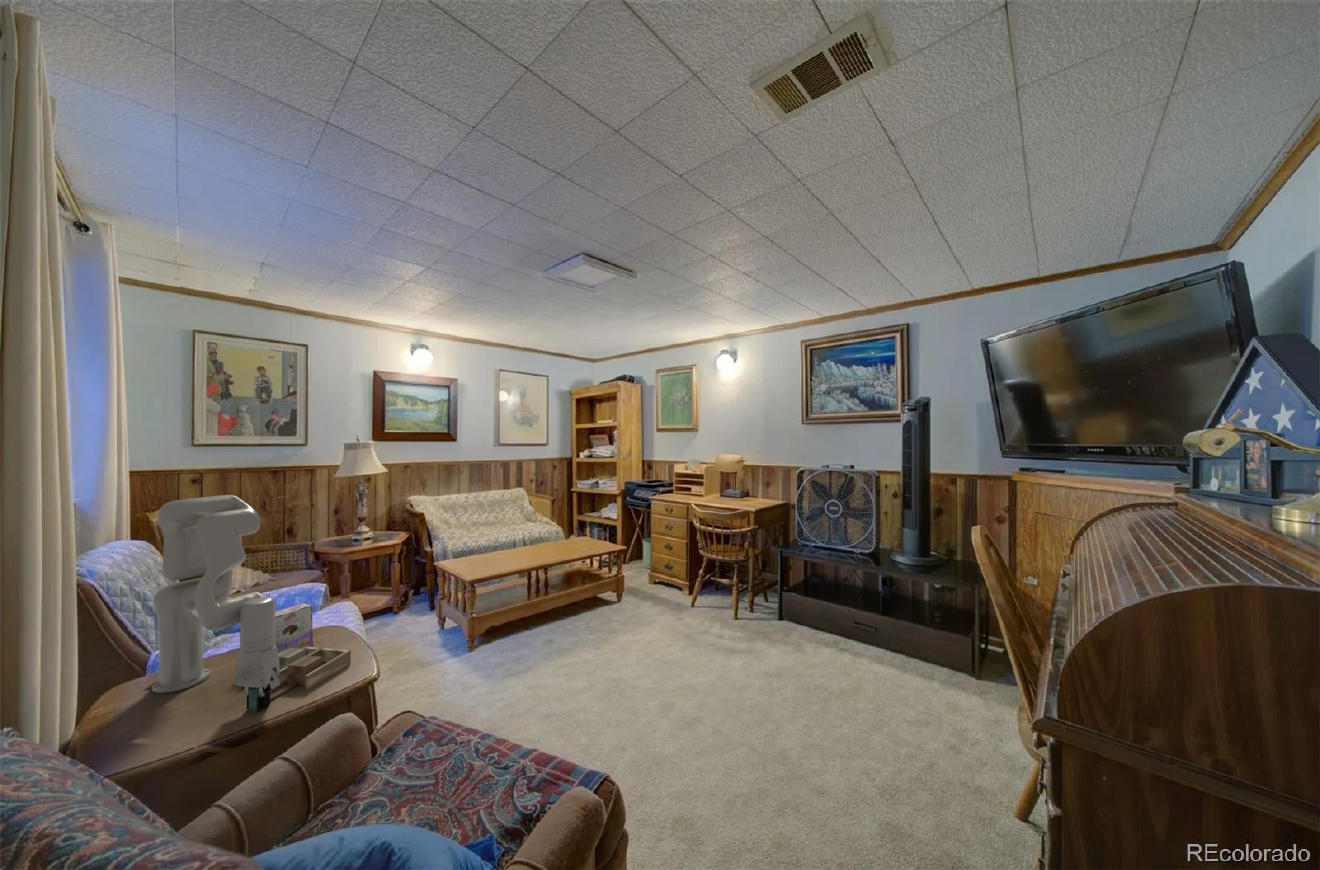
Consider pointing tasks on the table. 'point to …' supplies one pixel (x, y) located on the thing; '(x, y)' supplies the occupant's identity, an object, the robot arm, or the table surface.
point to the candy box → (293, 627)
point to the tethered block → (289, 677)
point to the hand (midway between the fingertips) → (258, 706)
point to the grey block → (290, 656)
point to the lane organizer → (334, 663)
